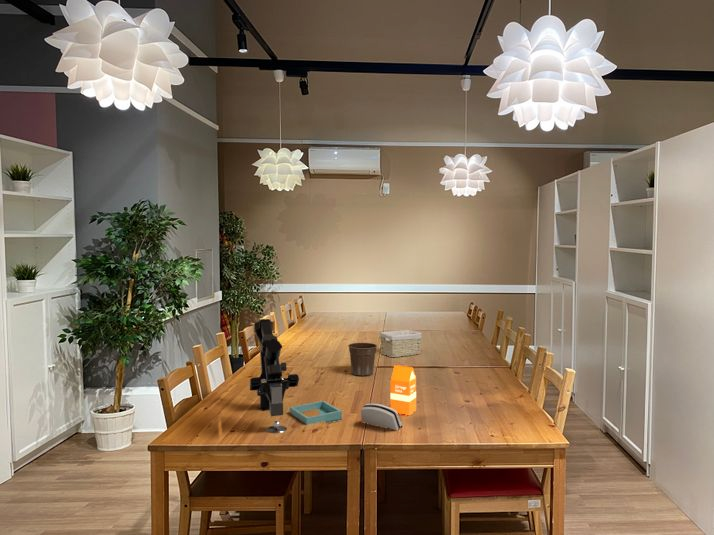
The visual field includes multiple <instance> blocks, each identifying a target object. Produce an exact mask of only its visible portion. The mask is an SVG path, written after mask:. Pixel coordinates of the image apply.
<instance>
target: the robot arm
mask: <svg viewBox="0 0 714 535" xmlns="http://www.w3.org/2000/svg"><path fill="white" fill-rule="evenodd" d="M273 331H274V323H273V321H271V319H270V318H265V319H259V320H258V321H256V322H254V323H253V333H254V334H255V338H256V340H257V341H258V343H259V357H260V369H261V370H260V372H261V373H260V374H259V376H256V377H254V376H253V377H251V378H250V379H249V390H250V391H256V395H257V397H259V399H260V400H259V404H258V405H257V408H258V407H259V408H258V409H260V410H261V409H262V410H261V411H266V410H267V411H268V409H269V410H270V407H269V402H270V403H271V395H270V385H271V384H281V386H282V402H283V403H284V397H285V393H286V390H289V388H296V387H298V385H299V381H300V376H299V375H298V373H291V374H287V377H285V378H283V372H287V362H286V361H285V362H280V358H281V357H280V356H281V351H282V349H283V345H282V343H281V342H280V341H279V340H278V337H277V336H275V335H274V333H273Z"/></svg>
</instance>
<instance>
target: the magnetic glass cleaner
mask: <svg viewBox="0 0 714 535" xmlns="http://www.w3.org/2000/svg"><path fill="white" fill-rule="evenodd" d="M360 415H361V416H360V418H361V423H362V422H365V423H368V424H367V425H370V424H373V425H372V426H374V425H378V426H382V427H381V428H383V427H386V428H385V429H387V428H390V429H389V430H391V429H394V430H393V431H396V430H398V429H399V430H400V428H402V427H401V426H403V427H404V425H403V423H402V422H401V420H400V417H399V414H398V413H397V411H396V410H394V409H392V408H391V406H387V405H384V404H381V403H366V404H365V405H363V407H362V408H361V410H360ZM365 423H364V424H365ZM378 426H377V427H378ZM399 430H398V431H399Z"/></svg>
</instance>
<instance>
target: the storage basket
mask: <svg viewBox="0 0 714 535" xmlns="http://www.w3.org/2000/svg"><path fill="white" fill-rule="evenodd" d="M422 335H423V333H422V332H419V331H416V330H413V329H412V330H411V329H401V330H391V331H381V332H379V338H380V353H381V354H382V355H383V356H386V355H387V357H389V358H392V359H394V358H393V357H395V358H401V356H403V357H410V356H409V355H411V356H417V355H416V354H418V355H420V354H421V353H420V351H421V342H422V337H423V336H422Z"/></svg>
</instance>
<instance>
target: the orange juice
mask: <svg viewBox="0 0 714 535" xmlns="http://www.w3.org/2000/svg"><path fill="white" fill-rule="evenodd" d="M390 408H392V409H394V410H396V411H397V413H399V414H398V415H401V414H405V415H404V416H407V415H410V416H411V415H413V414H414V413H415V412H416V411H417V376H416V374H415V371H414V368H413V367H412V366H406V365H398V364H394V366H393V370H392V373H391V379H390ZM414 411H415V412H414ZM413 412H414V413H413Z"/></svg>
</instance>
